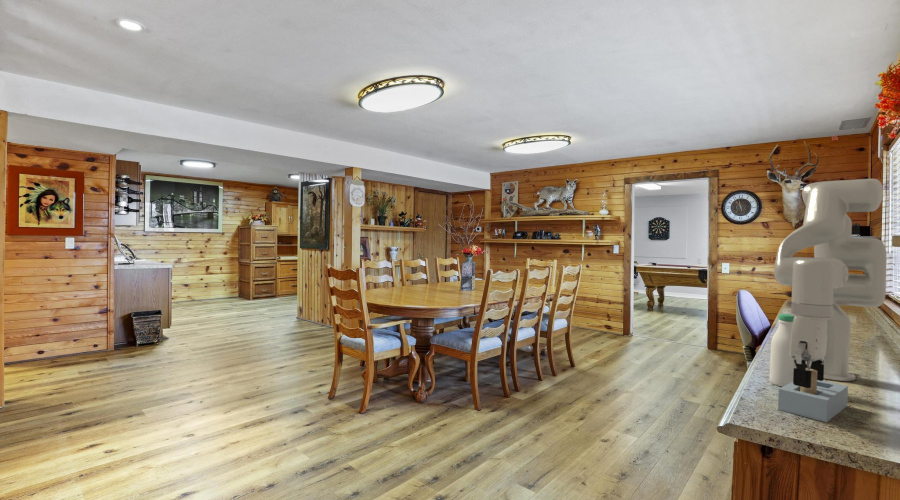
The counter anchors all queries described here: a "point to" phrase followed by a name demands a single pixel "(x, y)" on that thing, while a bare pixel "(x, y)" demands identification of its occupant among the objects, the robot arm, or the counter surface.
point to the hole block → (814, 400)
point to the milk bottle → (782, 353)
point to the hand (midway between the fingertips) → (808, 382)
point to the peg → (813, 384)
